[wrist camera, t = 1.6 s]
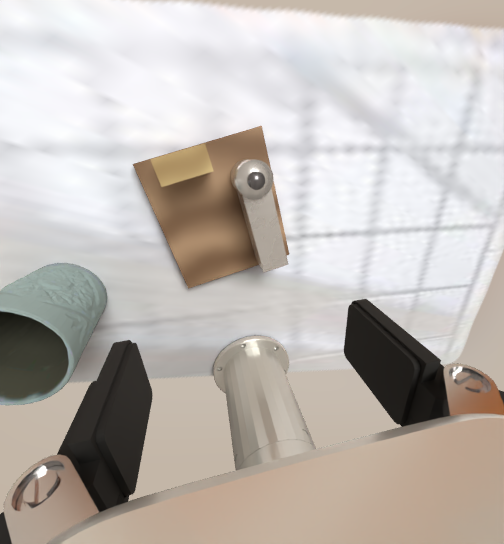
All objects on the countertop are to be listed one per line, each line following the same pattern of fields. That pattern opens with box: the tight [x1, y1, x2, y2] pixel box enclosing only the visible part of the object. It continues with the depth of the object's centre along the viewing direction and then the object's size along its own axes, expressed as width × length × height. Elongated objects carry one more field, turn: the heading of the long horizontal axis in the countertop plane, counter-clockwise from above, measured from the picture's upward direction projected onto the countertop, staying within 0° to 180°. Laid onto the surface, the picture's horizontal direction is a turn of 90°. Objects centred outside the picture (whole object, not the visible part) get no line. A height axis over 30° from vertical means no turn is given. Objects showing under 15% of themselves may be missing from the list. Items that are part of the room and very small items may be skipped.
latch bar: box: [231, 159, 288, 272], centre depth 28 cm, size 12×4×5 cm, turn 16°
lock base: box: [133, 126, 289, 288], centre depth 28 cm, size 15×14×6 cm
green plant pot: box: [0, 263, 107, 405], centre depth 26 cm, size 10×10×12 cm
